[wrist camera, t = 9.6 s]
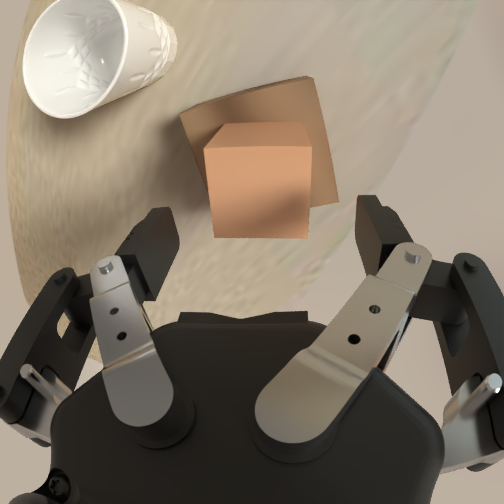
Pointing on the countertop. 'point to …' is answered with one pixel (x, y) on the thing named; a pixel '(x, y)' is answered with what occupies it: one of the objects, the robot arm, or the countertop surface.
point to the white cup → (94, 54)
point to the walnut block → (268, 110)
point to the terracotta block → (259, 180)
